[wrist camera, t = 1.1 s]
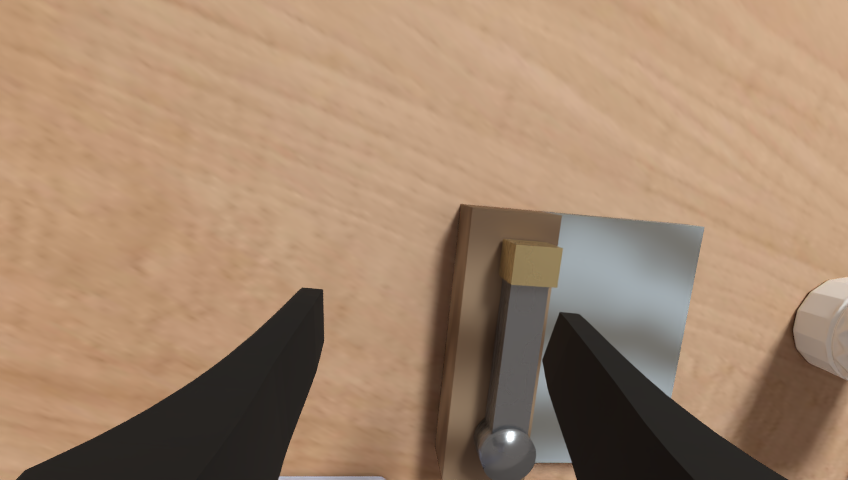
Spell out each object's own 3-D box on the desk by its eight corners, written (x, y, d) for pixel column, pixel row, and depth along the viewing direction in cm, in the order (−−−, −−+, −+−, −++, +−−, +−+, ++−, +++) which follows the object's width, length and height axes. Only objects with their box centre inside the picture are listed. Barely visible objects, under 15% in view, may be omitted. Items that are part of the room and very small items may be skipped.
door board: (643, 448, 28) (676, 481, 25) (435, 446, 26) (442, 481, 23) (685, 224, 25) (727, 230, 22) (460, 204, 24) (473, 207, 20)
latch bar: (520, 459, 23) (533, 486, 21) (470, 459, 23) (479, 486, 21) (551, 242, 21) (568, 248, 19) (497, 238, 21) (510, 244, 19)
